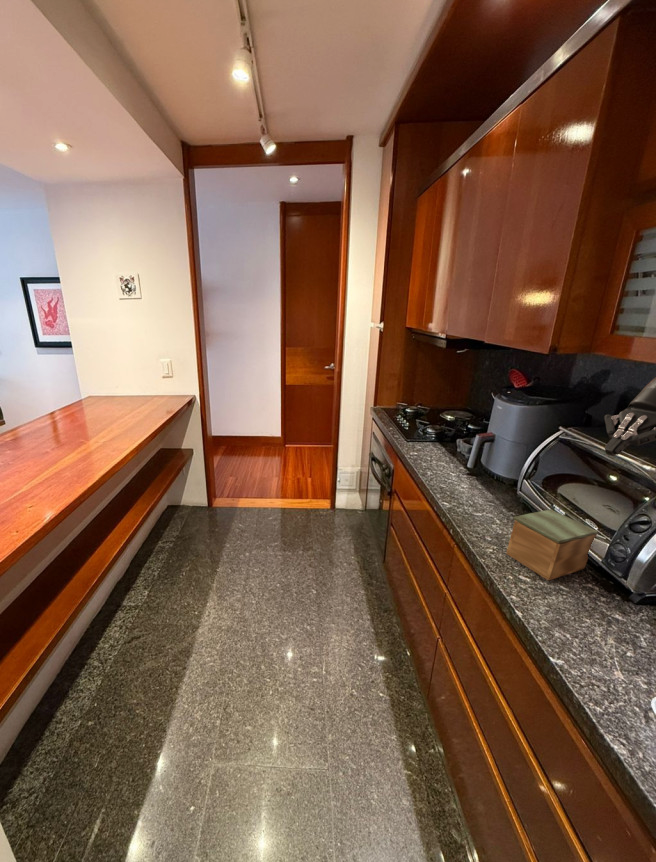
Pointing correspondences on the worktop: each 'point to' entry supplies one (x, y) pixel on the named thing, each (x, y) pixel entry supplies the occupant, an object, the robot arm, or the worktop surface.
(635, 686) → the worktop surface
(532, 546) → the box
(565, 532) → the caddy lid
